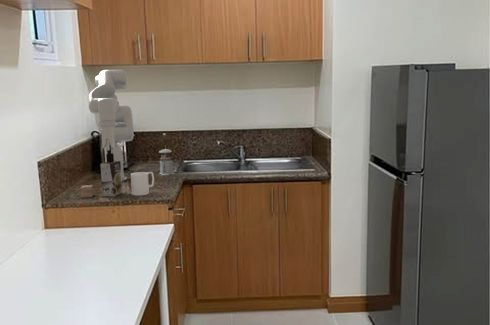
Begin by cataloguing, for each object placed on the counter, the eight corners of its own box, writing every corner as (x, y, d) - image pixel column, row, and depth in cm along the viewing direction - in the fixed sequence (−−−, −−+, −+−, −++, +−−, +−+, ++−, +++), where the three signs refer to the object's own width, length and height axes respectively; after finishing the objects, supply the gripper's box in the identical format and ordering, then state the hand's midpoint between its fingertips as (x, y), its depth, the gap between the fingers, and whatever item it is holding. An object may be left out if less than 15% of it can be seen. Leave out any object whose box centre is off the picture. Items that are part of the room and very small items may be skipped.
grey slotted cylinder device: (177, 172, 292) (174, 132, 289) (170, 175, 281) (168, 133, 277) (161, 172, 294) (159, 132, 290) (155, 175, 283) (152, 134, 279)
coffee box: (114, 196, 225) (112, 163, 223) (102, 196, 227) (99, 163, 224) (123, 192, 234) (120, 160, 232) (111, 192, 236) (108, 160, 233)
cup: (158, 192, 233) (157, 172, 231) (136, 196, 225) (135, 175, 224) (151, 190, 239) (149, 170, 237) (129, 193, 231) (127, 173, 230)
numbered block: (83, 195, 231) (82, 185, 230) (93, 195, 231) (92, 184, 231) (81, 197, 226) (80, 187, 225) (92, 197, 227) (91, 186, 226)
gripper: (101, 123, 232) (104, 160, 235) (97, 125, 218) (100, 164, 220) (117, 123, 234) (119, 159, 236) (114, 124, 219) (116, 163, 221)
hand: (110, 162), depth 228 cm, fingers closed
